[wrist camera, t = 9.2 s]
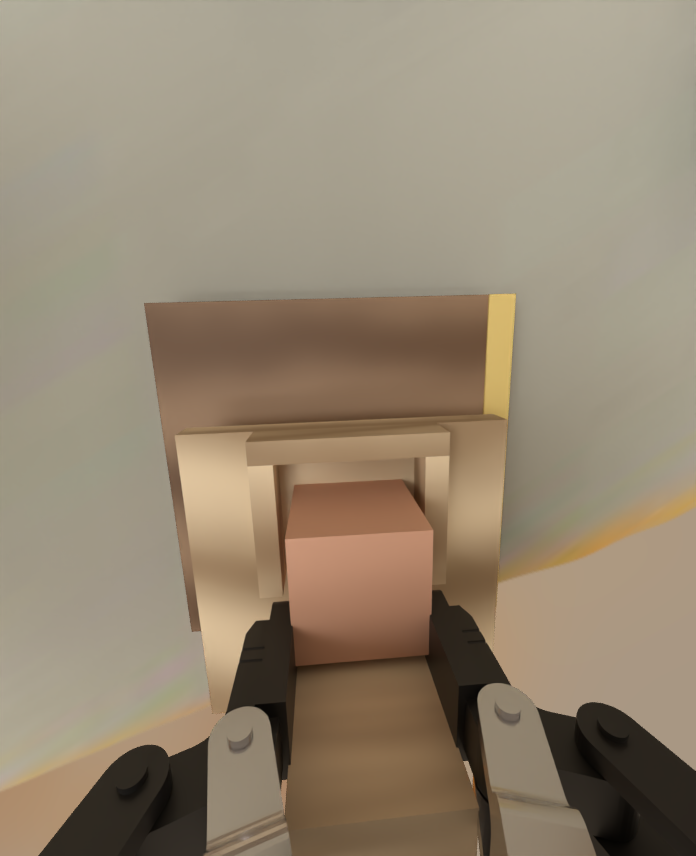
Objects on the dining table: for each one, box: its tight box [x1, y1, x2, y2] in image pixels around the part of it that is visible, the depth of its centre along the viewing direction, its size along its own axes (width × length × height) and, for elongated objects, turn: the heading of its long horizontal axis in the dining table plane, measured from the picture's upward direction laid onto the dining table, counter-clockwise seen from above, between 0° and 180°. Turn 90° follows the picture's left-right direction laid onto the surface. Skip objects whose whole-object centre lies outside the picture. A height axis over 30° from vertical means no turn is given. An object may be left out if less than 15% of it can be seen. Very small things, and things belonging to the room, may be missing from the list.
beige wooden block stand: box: [175, 414, 507, 856], centre depth 12 cm, size 12×12×9 cm
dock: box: [144, 294, 516, 632], centre depth 19 cm, size 16×16×3 cm
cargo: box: [285, 479, 433, 666], centre depth 12 cm, size 4×4×4 cm
